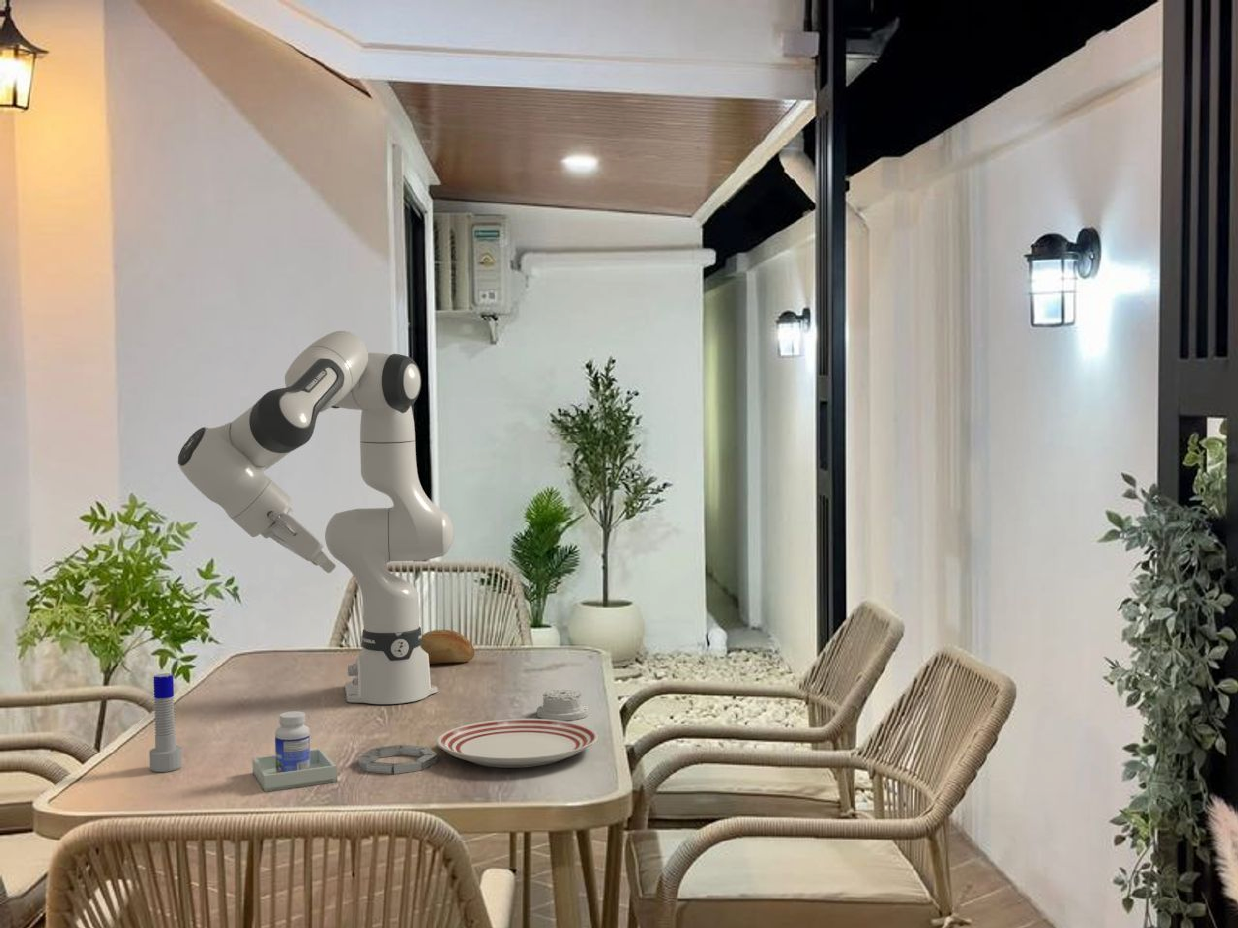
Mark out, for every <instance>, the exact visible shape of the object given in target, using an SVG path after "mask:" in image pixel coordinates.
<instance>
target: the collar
mask: <svg viewBox="0 0 1238 928" xmlns="http://www.w3.org/2000/svg"><path fill="white" fill-rule="evenodd" d="M401 755H402V756H409V757H411V756H412V757H419V758H417V759H415V760H410V761H404V762H403V761H402V762H395V763H393V762H392V763H390V762H381V761H376V760H378V759H381V758H386V757H387V758H388V757H393V756H401ZM437 760H438V753H436V752H435V751H433V749H431V748H430V747H428V746H419V745H412V744H411V745H410V744H397V745H389V746H383V747H382V746H381V747H376V748H371V749H369V750H367V751H365V752H364V753H361V754H360V755H358V756H357V765H358V766H359V767H360V768H361V769H362V770H363V771H364V772H366V773H374V774H386V775H397V774H405V773H412V772H419V771H422V770H426V769H427V768H429V767H431V766H432V765H434V764H436V763H437Z"/></svg>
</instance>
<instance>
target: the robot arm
mask: <svg viewBox="0 0 1238 928" xmlns="http://www.w3.org/2000/svg"><path fill="white" fill-rule="evenodd" d="M284 384H285V387H280V388H276V389H272V390H269V391H268V392H266V393H265V394H264V395H263V396H262V397H260V398H259V399H258V400H257V401H256V403H255V404H253V405H252V406H250V407H249V408H248V409H247V410H246V411H244V412H243V413H242V414H240V415H239V416H238V417H237V418H236V419H234V420H233V421H232V422H228V423H225V424H223V425H220V426H218V427H212V428H211V427H210V428H209V427H206V426H205V427H204V426H203V427H201V428H199V429H197V430H196V431H194V432H193V433H192V434H191V436H189V437H188V439H187V441H186V442H185V443H184V444H183V446H182V448H181V449H180V450H179V453H178V455H177V465H178V467H179V469H180V471H181V472H182V473H183V475H184V476H185V478H186V479H187V480H189V482H190V483H191V484H192V485H193V486H194V487H195V488H196V489H198V491H199V492H201V494H203V496H204V497H206V498H207V499H208V500H210V501H211V502H213V503H215V504H216V505H218V506H220V507H221V508H222V509H223V510H224V511H225V513H226V514H227V516H228V517H229V518H230V519H231V520H233V522H234V523H236V524H237V525H238V526H239V527H240V528H241V529H242V530H243V531H245V533H247V534H248V535H249V536H250V537H252V538H256V537H258V536H259V535H261V536H262V537H263V538H264V539H268V538H271V539H272V540H273V541H275V542H276V543H277V544H279V545H281V546H282V547H283V548H285V549H287V550H289V551H290V552H292V553H294V554H296V555H297V556H298V557H300V558H302V559H304V560H305V561H307V562H310V563H311V564H313V565H314V566H319V567H320V568H321V569H322V570H323V571H324V572H326V573H328V574H331V573H332V572H333V571H334V569H336V564H335V563H334V562H333V561H332V560H331V559H330V558H329V557H328V556H327V554H326V553H325V552H324V551H323V548H324V544H323V543H322V542H321V541H320V539H318V538H317V537H316V536H315V535H314V534H313V533H312V532H310V530H308V529H307V528H306V527H305V526H304V525H302V523H300V522H299V521H298V520H297V519H296V518H294V517H293V516H292V514H293V512H294V511H293V508H291V507H290V506H289V505H290V503H291V498H292V497H291V496H290V495H289V494H288V493H286V492H285V491H284V490H283V489H282V488H281V486H278V485H277V484H276V482H274V481H273V480H272V479H271V478H270V476H269V477H268V476H267V475H266V474H264V472H265V471H266V470H268V469H269V468H271V467H272V466H273V465H275V464H276V463H278V462H279V461H281V460H282V459H284V458H285V457H286V456H287V455H289V454H290V453H292V452H294V451H295V450H297V449H299V448H300V447H302V446H304V445H305V444H307V443H308V442H309V441H310V440H311V438H312V437H313V434H314V432H315V427H316V423H317V422H316V421H317V418H318V416H319V414H320V413H323V412H325V411H327V410H329V409H330V408H332V409H340V408H341V409H347V410H357V411H358V410H359V411H361V414H360V426H359V428H360V429H359V445H360V446H359V447H360V453H359V454H360V457H359V458H360V476H361V478H362V481H363V482H364V483H365V484H366V485H367V486H369V487H370V488H372V489H373V490H376V491H377V492H380V493H382V494H384V495H387V496H388V497H389V498H390V500H391V501H392V503H393V505H392V507H382V508H381V507H378V508H377V507H375V508H354V509H349V510H345V511H341V512H336V513H334V515H333V516H332V517H331V518H330V519H329V521H328V522H327V524H326V527H325V533H324V540H325V543H326V544H325V545H326V547H327V550H328V551H329V553H330V554H331V556H332V557H333V558H335V559H336V560H337V561H339V562H340V563H341V564H343V566H345V567H346V568H347V569H348V570H349V572H351V573H352V575H353V577H354V578H355V580H356V582H357V584H358V587H359V589H360V593H361V597H362V607H363V608H362V609H363V618H364V619H363V621H364V622H363V624H364V628H363V629H362V633H361V647H362V648H361V650H360V652H359V653H358V656H357V658H356V659H355V663H352V664H349V665H348V666H347V671H348V672H347V675H348V677H354V678H352V680H350V681H347V682H345V683H344V691H345V697H346V702H348V703H364V704H372V705H394V704H395V705H396V704H405V703H410V702H411V703H412V702H417V701H419V700H423V699H426V698H427V697H428V696H430V695H432V694H435V693H436V694H437V693H438V691H439V690H438V686H436V685H433V684H431V683H432V682H431V673H430V672H431V670H430V664H429V656H428V653H426V652H425V651H424V650H423V649H422V648H421V646H420V645H421V644H422V639H421V638H422V635H423V633H422V628H421V627H420V615H419V613H420V611H419V609H420V608H419V607H420V606H419V593H418V590H417V588H416V587H415V586H414V585H413V584H412V583H411V582H409V581H407V580H406V579H403V578H402V577H399V576H396V575H394V574H393V573H391V572H390V571H389V569H388V566H387V563H390V562H418V561H419V562H420V561H427V560H431V559H436V558H440V557H444V556H445V555H446V554H447V553H448V552H449V550H450V548H451V546H452V544H453V541H454V535H455V532H454V529H455V528H454V526H453V523H452V520H451V518H450V517H449V516H448V514H447V513H446V512H445V511H444V510H442V509H441V508H439V506H437V505H436V504H435V503H434V502H433V501H432V500H431V499H430V498H429V497H428V495H427V494H426V493H425V491H424V489H423V487H422V485H421V482H420V478H419V474H418V467H417V455H416V454H417V452H416V431H415V430H416V429H415V428H416V427H415V420H414V413H413V405H414V403H415V402H416V400H417V399H418V397H419V395H420V392H421V389H422V376H421V371H420V368H419V366H418V365H417V362H415V361H414V359H413V358H412V357H410V356H407V355H404V354H400V353H392V354H388V353H380V352H379V353H378V352H368V349H367V345H366V344H365V343H364V341H363V340H362V339H361V338H360V337H359V336H357V335H356V334H354V333H352V332H350V331H346V330H337V331H333V332H330V333H328V334H326V335H324V336H322V337H320V338H319V339H317V340H316V341H314V342H312V343H311V344H310V345H309V346H308V347H306V349H304V350H303V351H302V352H301V353H299V355H297V357H296V358H295V359H294V360H293V361H292V363H291V364H290V366H289V368H288V369H287V371H286V373H285V375H284Z"/></svg>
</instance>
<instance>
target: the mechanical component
mask: <svg viewBox="0 0 1238 928" xmlns="http://www.w3.org/2000/svg"><path fill="white" fill-rule="evenodd" d="M542 697H543V698H542V705H540V706H538V707H537V708H536V717H538V719H547V720H559V721H566V722H569V721H576V720H581V719H583V718H585V717H587V716H588V715H589V709H590V708H589V706H587V705H586V704H583V693H580V691H579V690H578V691H577V690H573V689H556V690H554V689H553V690H551V691H546V692H544V693H543V694H542Z"/></svg>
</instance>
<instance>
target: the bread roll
mask: <svg viewBox="0 0 1238 928" xmlns="http://www.w3.org/2000/svg"><path fill="white" fill-rule="evenodd" d="M421 639H422V644H421V645H420V646H421V648H422V649H423V650H424V651H425V652H426V653H428V656H429V665H432V664H444V663H445V664H447V663H467V662H470V661H471V660H473V658H474V657H475V649H474V646H473V644H472V643H471V641H470V640H469V639H467V637H466V636H464V635H463V634H462V633H460V632H458V631H455V630H449V629H435V630H434V629H433V630H430V631H427V632H425V633H424V634H423V633H422V638H421Z"/></svg>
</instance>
